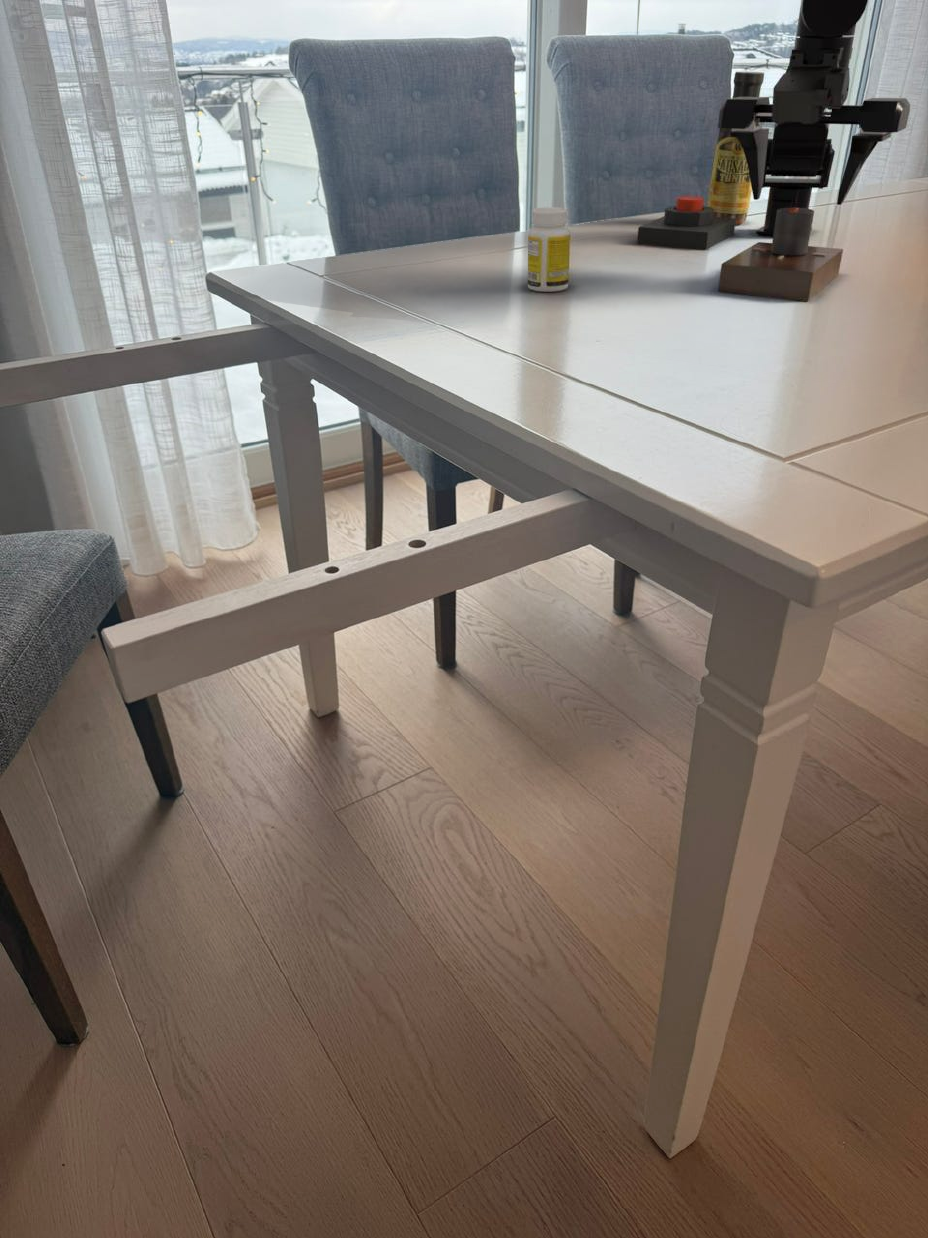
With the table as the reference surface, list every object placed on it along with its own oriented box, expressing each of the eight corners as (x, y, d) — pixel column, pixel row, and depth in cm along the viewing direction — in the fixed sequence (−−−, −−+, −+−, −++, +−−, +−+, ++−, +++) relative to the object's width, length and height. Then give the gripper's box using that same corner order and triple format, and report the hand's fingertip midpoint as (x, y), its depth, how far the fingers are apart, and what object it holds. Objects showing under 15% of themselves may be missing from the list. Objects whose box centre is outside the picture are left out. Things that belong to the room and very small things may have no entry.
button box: (668, 229, 134) (670, 200, 132) (733, 234, 130) (738, 204, 128) (636, 243, 126) (639, 212, 124) (706, 249, 121) (709, 217, 119)
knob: (776, 247, 106) (783, 203, 104) (810, 250, 105) (818, 205, 102) (766, 253, 104) (773, 208, 101) (801, 256, 102) (809, 211, 99)
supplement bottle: (572, 284, 106) (575, 206, 102) (562, 293, 102) (566, 213, 98) (533, 282, 107) (534, 205, 103) (522, 291, 104) (523, 212, 99)
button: (681, 208, 128) (682, 195, 127) (705, 210, 126) (707, 196, 125) (672, 212, 125) (673, 198, 124) (697, 214, 124) (698, 200, 123)
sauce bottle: (704, 225, 136) (722, 72, 125) (705, 218, 141) (722, 70, 130) (749, 226, 135) (771, 71, 124) (748, 219, 140) (769, 70, 129)
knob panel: (754, 267, 112) (758, 240, 110) (838, 275, 107) (843, 247, 105) (717, 291, 102) (721, 262, 100) (808, 301, 97) (813, 270, 95)
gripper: (710, 39, 91) (692, 206, 100) (907, 36, 83) (869, 218, 91) (744, 38, 99) (724, 193, 108) (927, 34, 91) (890, 202, 99)
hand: (797, 201), depth 101 cm, fingers open, 9 cm apart
